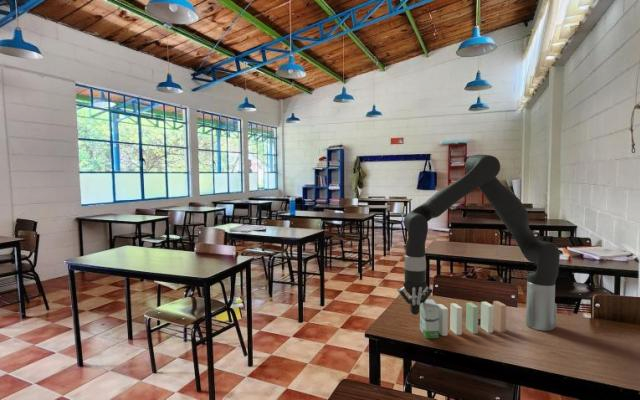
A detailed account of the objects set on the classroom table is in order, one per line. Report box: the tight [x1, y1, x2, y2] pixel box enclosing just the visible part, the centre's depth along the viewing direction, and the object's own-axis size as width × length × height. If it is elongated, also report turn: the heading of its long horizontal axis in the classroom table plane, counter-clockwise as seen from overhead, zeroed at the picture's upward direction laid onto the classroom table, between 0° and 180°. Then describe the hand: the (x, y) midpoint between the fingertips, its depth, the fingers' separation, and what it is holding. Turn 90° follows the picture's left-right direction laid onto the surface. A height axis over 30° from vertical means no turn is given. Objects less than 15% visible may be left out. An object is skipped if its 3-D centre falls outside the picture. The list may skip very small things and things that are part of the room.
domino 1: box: [436, 303, 449, 336], centre depth 136 cm, size 2×5×10 cm, turn 8°
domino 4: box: [480, 301, 494, 334], centre depth 139 cm, size 2×5×10 cm, turn 8°
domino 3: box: [465, 302, 479, 335], centre depth 138 cm, size 2×5×10 cm, turn 7°
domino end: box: [492, 300, 507, 333], centre depth 139 cm, size 2×5×10 cm, turn 8°
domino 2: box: [449, 302, 463, 336], centre depth 137 cm, size 2×5×10 cm, turn 8°
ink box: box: [419, 298, 440, 339], centre depth 135 cm, size 9×5×12 cm, turn 179°
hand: (414, 314), depth 135 cm, fingers closed
